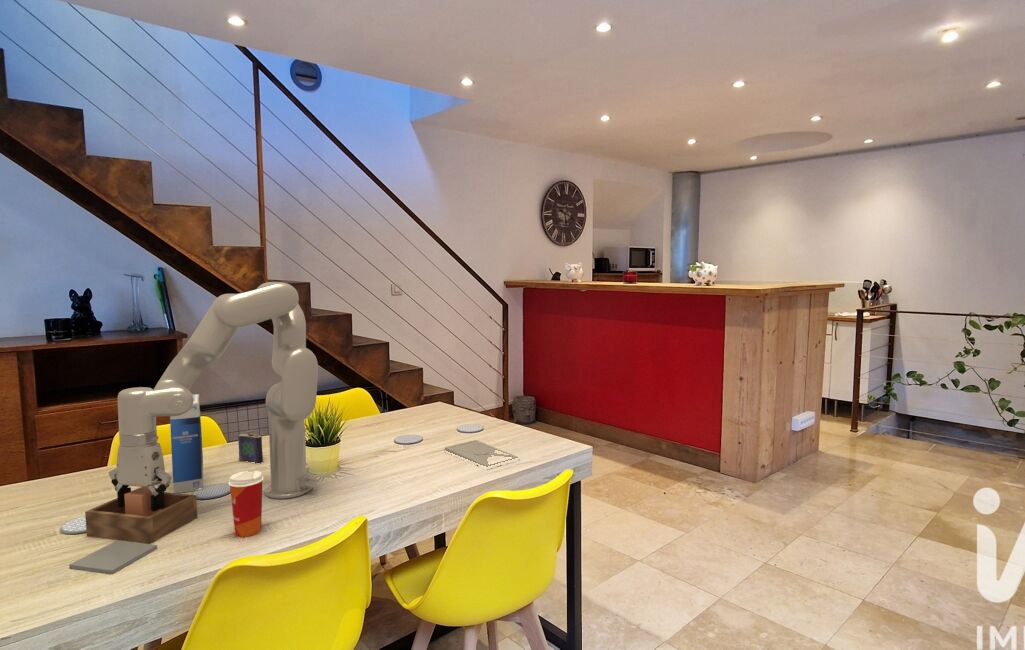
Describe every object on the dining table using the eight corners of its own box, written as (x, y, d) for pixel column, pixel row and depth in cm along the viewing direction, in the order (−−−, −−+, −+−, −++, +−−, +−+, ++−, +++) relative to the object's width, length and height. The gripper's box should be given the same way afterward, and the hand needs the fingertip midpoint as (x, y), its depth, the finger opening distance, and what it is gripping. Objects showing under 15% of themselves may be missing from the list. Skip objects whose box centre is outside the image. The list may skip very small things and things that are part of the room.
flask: (237, 461, 182) (236, 430, 182) (244, 458, 185) (243, 427, 184) (259, 464, 179) (258, 432, 179) (265, 461, 182) (264, 430, 181)
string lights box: (175, 479, 166) (171, 396, 163) (204, 475, 169) (200, 393, 167) (173, 494, 154) (168, 405, 152) (204, 489, 158) (199, 402, 156)
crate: (197, 517, 139) (196, 495, 138) (150, 543, 125) (148, 518, 125) (138, 511, 143) (137, 489, 142) (86, 536, 129) (85, 511, 129)
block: (160, 511, 136) (159, 488, 135) (142, 520, 131) (141, 496, 130) (143, 509, 137) (142, 486, 136) (125, 518, 132) (124, 494, 131)
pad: (157, 548, 123) (157, 545, 123) (112, 574, 112) (112, 570, 112) (117, 543, 125) (117, 540, 125) (69, 568, 115) (69, 564, 115)
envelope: (486, 472, 174) (518, 462, 183) (486, 465, 174) (518, 456, 183) (444, 452, 192) (475, 445, 201) (444, 446, 192) (475, 439, 201)
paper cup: (238, 525, 135) (236, 470, 134) (270, 524, 135) (268, 469, 134) (224, 540, 127) (221, 482, 126) (258, 538, 128) (256, 480, 127)
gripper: (181, 437, 134) (183, 504, 135) (123, 432, 138) (125, 498, 139) (155, 445, 127) (157, 517, 128) (94, 440, 130) (97, 510, 132)
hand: (141, 507), depth 133 cm, fingers open, 9 cm apart
